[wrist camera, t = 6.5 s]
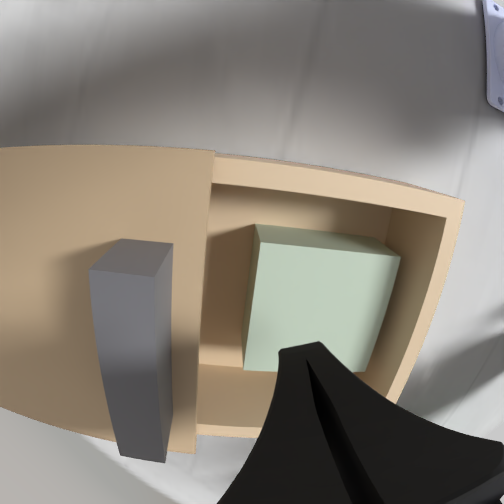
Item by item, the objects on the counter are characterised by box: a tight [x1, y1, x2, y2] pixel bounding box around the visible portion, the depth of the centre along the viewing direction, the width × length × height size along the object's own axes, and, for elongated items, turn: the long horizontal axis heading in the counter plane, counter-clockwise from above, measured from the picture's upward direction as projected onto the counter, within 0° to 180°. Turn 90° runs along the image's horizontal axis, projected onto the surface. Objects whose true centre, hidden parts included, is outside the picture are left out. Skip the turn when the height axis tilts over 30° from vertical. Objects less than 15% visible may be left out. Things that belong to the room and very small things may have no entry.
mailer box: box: [197, 153, 465, 438], centre depth 14 cm, size 16×12×5 cm
